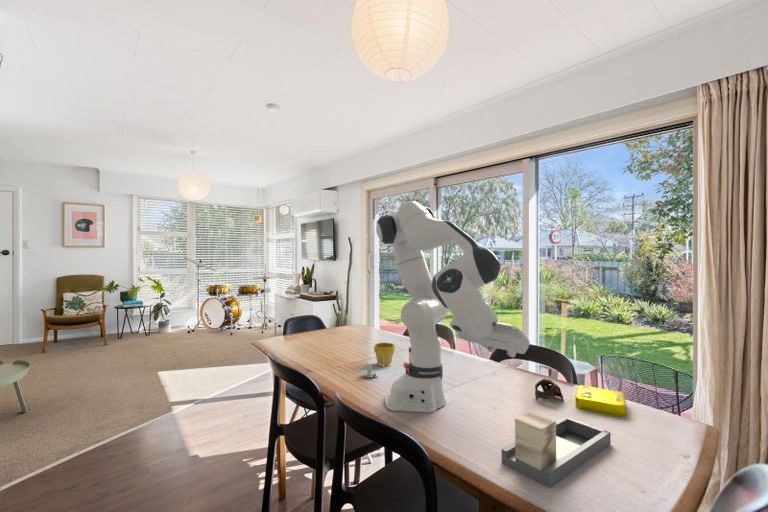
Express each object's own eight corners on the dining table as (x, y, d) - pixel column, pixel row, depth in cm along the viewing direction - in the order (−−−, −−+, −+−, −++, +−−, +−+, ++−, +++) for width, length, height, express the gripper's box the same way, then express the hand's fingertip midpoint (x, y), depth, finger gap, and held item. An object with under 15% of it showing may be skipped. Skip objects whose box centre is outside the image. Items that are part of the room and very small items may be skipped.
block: (541, 471, 86) (540, 429, 86) (515, 457, 92) (515, 418, 92) (556, 461, 90) (556, 421, 90) (530, 449, 96) (530, 411, 96)
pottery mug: (570, 405, 130) (561, 388, 128) (545, 415, 132) (536, 398, 130) (556, 385, 142) (548, 369, 140) (533, 395, 143) (525, 378, 142)
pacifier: (369, 373, 166) (360, 376, 162) (369, 360, 166) (360, 362, 162) (381, 377, 161) (371, 380, 157) (381, 363, 161) (372, 365, 157)
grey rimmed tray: (549, 488, 83) (549, 472, 83) (501, 462, 93) (501, 448, 93) (610, 444, 102) (610, 432, 102) (565, 427, 113) (565, 415, 113)
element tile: (626, 419, 119) (626, 405, 119) (575, 409, 127) (575, 395, 127) (624, 403, 131) (624, 390, 131) (578, 395, 139) (578, 383, 139)
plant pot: (394, 367, 174) (394, 347, 174) (373, 367, 174) (373, 347, 175) (394, 361, 185) (394, 342, 185) (374, 361, 185) (374, 342, 185)
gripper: (520, 316, 85) (542, 350, 91) (455, 307, 102) (478, 336, 108) (509, 337, 83) (533, 371, 88) (444, 324, 99) (468, 354, 105)
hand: (502, 352), depth 98 cm, fingers open, 5 cm apart
